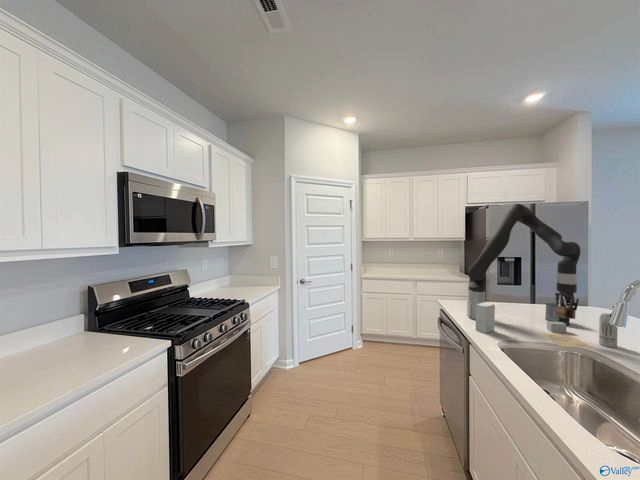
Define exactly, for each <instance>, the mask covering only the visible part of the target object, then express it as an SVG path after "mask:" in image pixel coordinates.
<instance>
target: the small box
mask: <svg viewBox="0 0 640 480" xmlns="http://www.w3.org/2000/svg"><path fill="white" fill-rule="evenodd" d="M557 306H559V305H557V304H556V302H555V303H554V302H552V303H551V302H545V321H546V322H547V321H551V322H563V323H565V324H566V326H570V320H571V319H568V318H562V317H560V316H558V315H557Z"/></svg>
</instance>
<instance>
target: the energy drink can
mask: <svg viewBox="0 0 640 480" xmlns="http://www.w3.org/2000/svg"><path fill="white" fill-rule="evenodd" d="M610 314H611V313H604V312H603V313H601V315H600V316H599V317H598V319H599V321H598V324H599V325H598V326H599V327H598V344H600V345H601V346H603V347H605V348H609V349H610V348H611V349H615V348H616V347H618V327H616V326H614V325H611V324H610V323H609V322H608V321H609V317H610Z"/></svg>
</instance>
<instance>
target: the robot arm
mask: <svg viewBox="0 0 640 480" xmlns="http://www.w3.org/2000/svg"><path fill="white" fill-rule="evenodd" d="M517 222H519V223H521V224H523V225H525V226H526V227H528V228H530V230H532V232H534V234H535V235H536V236H537V237H539V239H541V240H542V241H543V242H545V243H546V244H547V245H548V247H549V248H550V249H551V251H552V252H554V253H555V254H556V255H558V256H559V257H562V260H559V262H557V273H556V291H557V292H555V293H554V295H555V303H556V304H557V305H559V306H566V308H567V318H573V311H574V310H575V311H577V309H578V305H579V298H575V296H574V294H576V293H577V292H578V289H577V288H578V285H577V284H578V278H577V276H578V275H577V264H578V262H579V259H580V256H581V252H582V251H581V247H580V245H579V244H578V243H577V242H576V241H575V242H574V241H564V240H562V239H563V237H562V235H561V233H559V232H558V231H557V230H555V229H554V228H552V227H551V226H550V225H548V224H546V223H544V222H543V221H542V220H541V219H540V218H538V217H537V216H536V214H534V213H533V212H532V210H531V209H530V208H529V207H527V206H525V205H523V204H521V203H514V204H512V205H511V206H510V207H509V208H508V209H507V211H506V213H505V214H504V217H503V218H502V221H501V222H500V224H499V225H498V227H497V228H496V229H495V232H493V234H492V235H491V237H490V239H488V242H486V244H485V246H484V247H483V250H482V251H481V253H480V255H479V257H478V259H476V261H475V262H474V263H473V264H472V266H470V267H469V269H468V271H467V275H468V278H469V279H468V280H469V283H468V300H467V302H466V303H467V304H466V306H467V307H466V309H467V310H466V311H467V312H466V317H468V318H469V319H471V320H472V319H473V320H476V304H480V303H484V302H486V289H487V288H486V286H487V272H488V271H489V270H488V269H489V268H490V266H491V265H492V263H494V261H495V260H496V259H497V258H498V257H499V256H500V255H501V254H502V252H503V251H504V250H505V248H506V247H507V246H508V244H509V242H510V239H511V233H512V230H513V227H514V226H515V225H516V223H517ZM569 306H570V307H569Z"/></svg>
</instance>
